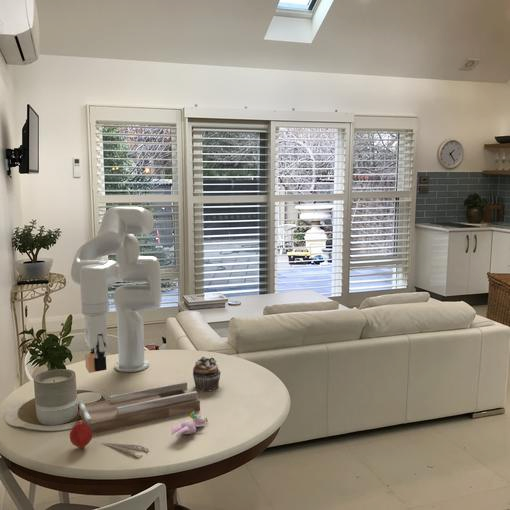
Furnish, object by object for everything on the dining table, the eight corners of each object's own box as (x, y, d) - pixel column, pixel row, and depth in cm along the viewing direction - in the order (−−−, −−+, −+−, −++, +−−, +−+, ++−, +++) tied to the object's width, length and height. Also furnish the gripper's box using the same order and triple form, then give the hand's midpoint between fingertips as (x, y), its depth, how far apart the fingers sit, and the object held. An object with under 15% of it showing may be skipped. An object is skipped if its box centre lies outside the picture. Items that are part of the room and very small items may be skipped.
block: (85, 367, 160) (85, 354, 160) (102, 364, 163) (102, 351, 162) (89, 372, 156) (88, 359, 155) (106, 369, 158) (105, 356, 158)
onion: (70, 444, 148) (68, 417, 146) (92, 441, 150) (90, 413, 148) (71, 455, 142) (69, 426, 141) (93, 451, 144) (92, 423, 143)
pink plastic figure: (194, 424, 162) (164, 438, 149) (195, 404, 162) (165, 416, 149) (212, 428, 159) (183, 443, 146) (213, 408, 159) (184, 421, 146)
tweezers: (150, 452, 145) (149, 445, 144) (139, 461, 140) (138, 454, 140) (99, 442, 152) (99, 436, 152) (88, 450, 148) (87, 443, 148)
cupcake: (189, 390, 184) (188, 362, 182) (198, 380, 193) (198, 353, 191) (215, 393, 181) (215, 364, 180) (224, 382, 191) (224, 355, 189)
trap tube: (79, 414, 166) (78, 399, 165) (184, 393, 181) (184, 379, 180) (88, 434, 153) (87, 417, 153) (199, 409, 169) (199, 394, 168)
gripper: (76, 302, 162) (80, 359, 165) (87, 316, 147) (91, 379, 150) (102, 299, 166) (105, 355, 169) (115, 312, 151) (118, 374, 154)
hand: (98, 366), depth 160 cm, fingers closed on block, 5 cm apart
